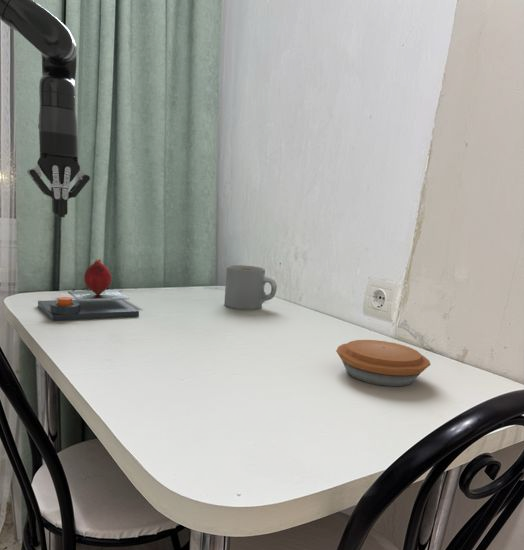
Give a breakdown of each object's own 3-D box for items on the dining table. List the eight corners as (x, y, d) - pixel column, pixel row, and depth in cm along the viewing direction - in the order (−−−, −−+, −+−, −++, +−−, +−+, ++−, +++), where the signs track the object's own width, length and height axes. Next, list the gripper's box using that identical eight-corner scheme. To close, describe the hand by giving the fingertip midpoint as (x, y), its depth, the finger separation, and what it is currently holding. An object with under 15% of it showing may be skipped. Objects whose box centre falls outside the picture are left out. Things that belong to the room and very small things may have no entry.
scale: (53, 322, 101) (52, 307, 100) (37, 306, 112) (37, 293, 111) (139, 317, 111) (139, 304, 110) (117, 304, 122) (117, 291, 121)
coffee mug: (217, 305, 131) (219, 266, 129) (235, 300, 140) (238, 264, 137) (263, 313, 126) (266, 273, 123) (279, 308, 135) (283, 270, 132)
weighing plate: (78, 300, 108) (78, 299, 108) (68, 292, 115) (68, 291, 115) (129, 299, 114) (129, 297, 114) (115, 291, 121) (115, 290, 121)
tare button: (59, 307, 102) (59, 299, 102) (56, 304, 104) (55, 297, 104) (73, 306, 104) (73, 299, 103) (70, 304, 106) (70, 296, 106)
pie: (360, 356, 97) (364, 330, 95) (439, 378, 88) (445, 350, 86) (316, 371, 85) (320, 343, 84) (403, 399, 76) (408, 368, 75)
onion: (111, 297, 112) (111, 261, 110) (83, 296, 111) (83, 259, 109) (111, 292, 118) (111, 257, 115) (85, 291, 116) (85, 256, 114)
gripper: (28, 126, 100) (31, 216, 105) (95, 136, 107) (95, 220, 112) (20, 128, 105) (24, 213, 111) (85, 137, 113) (85, 217, 118)
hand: (60, 216), depth 111 cm, fingers closed
